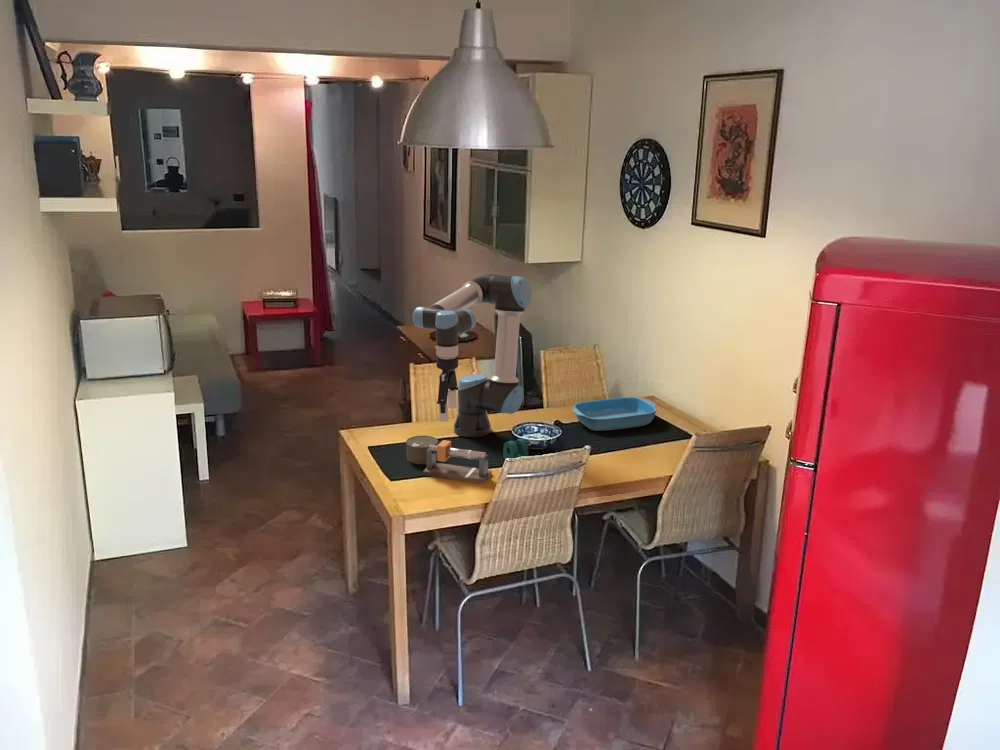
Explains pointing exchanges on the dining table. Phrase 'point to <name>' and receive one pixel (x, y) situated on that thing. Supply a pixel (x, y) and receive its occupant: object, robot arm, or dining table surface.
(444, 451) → the collar
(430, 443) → the can
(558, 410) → the dining table surface
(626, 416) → the casserole dish
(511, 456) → the bracket
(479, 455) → the pipe stand
